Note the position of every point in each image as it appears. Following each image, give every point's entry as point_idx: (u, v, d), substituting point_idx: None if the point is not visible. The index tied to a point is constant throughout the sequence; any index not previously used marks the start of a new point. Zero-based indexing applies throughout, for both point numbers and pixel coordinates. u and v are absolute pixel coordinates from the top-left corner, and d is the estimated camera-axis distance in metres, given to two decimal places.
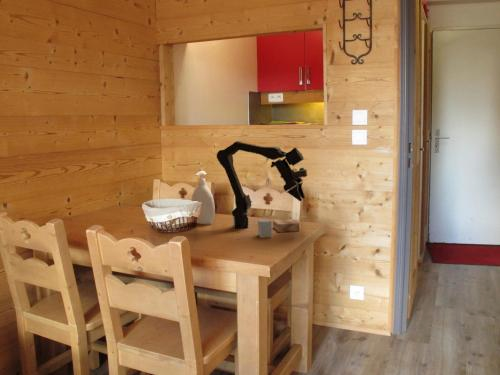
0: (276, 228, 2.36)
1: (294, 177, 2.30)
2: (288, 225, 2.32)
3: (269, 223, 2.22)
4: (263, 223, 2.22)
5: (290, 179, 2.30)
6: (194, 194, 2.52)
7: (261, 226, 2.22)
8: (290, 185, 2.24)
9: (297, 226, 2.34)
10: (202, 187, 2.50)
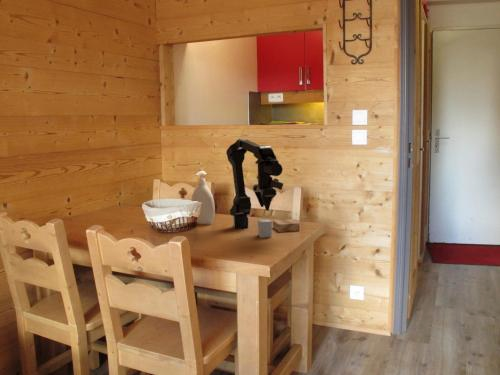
0: (276, 228, 2.36)
1: (271, 185, 2.20)
2: (288, 225, 2.32)
3: (269, 223, 2.22)
4: (263, 223, 2.22)
5: (267, 185, 2.20)
6: (194, 194, 2.52)
7: (261, 226, 2.22)
8: (271, 192, 2.14)
9: (297, 226, 2.34)
10: (202, 187, 2.50)
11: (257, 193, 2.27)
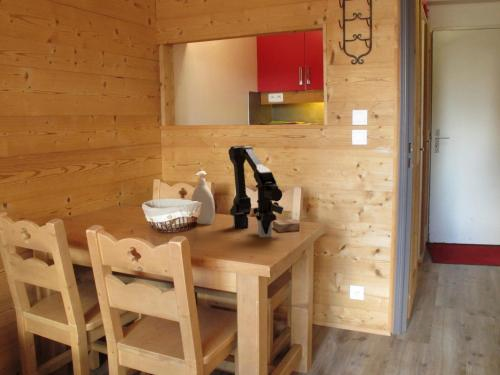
0: (276, 228, 2.35)
1: (271, 210, 2.21)
2: (288, 225, 2.33)
3: None
4: None
5: (267, 209, 2.21)
6: (194, 194, 2.52)
7: (261, 226, 2.22)
8: (271, 217, 2.15)
9: (297, 226, 2.34)
10: (202, 187, 2.50)
11: (258, 217, 2.27)
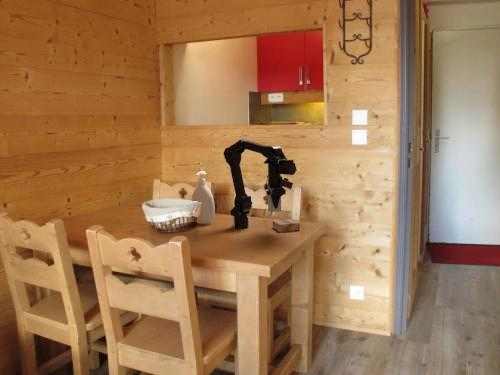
0: (276, 228, 2.35)
1: (281, 185, 2.25)
2: (289, 225, 2.33)
3: None
4: None
5: (277, 184, 2.25)
6: (194, 194, 2.52)
7: (271, 201, 2.26)
8: (280, 191, 2.19)
9: (297, 226, 2.34)
10: (202, 187, 2.50)
11: (268, 193, 2.31)
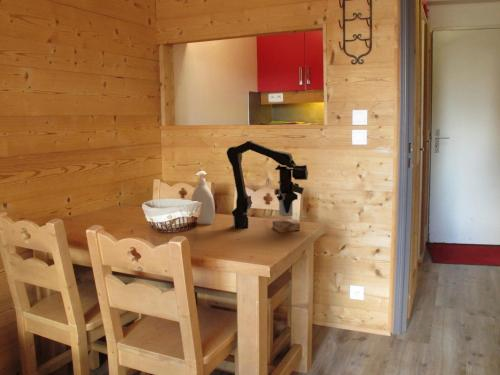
0: (276, 228, 2.35)
1: (292, 190, 2.33)
2: (289, 225, 2.33)
3: None
4: None
5: (288, 190, 2.33)
6: (194, 194, 2.52)
7: (283, 205, 2.33)
8: (292, 197, 2.27)
9: (298, 226, 2.34)
10: (202, 187, 2.50)
11: (279, 198, 2.38)
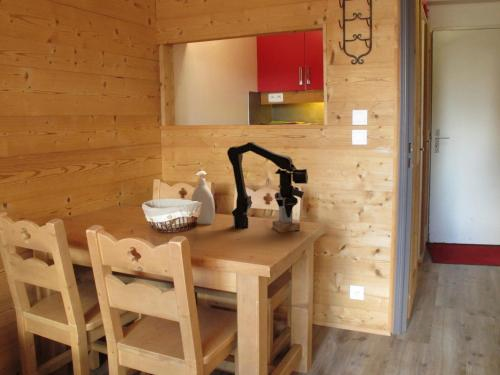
0: (277, 228, 2.35)
1: (293, 194, 2.33)
2: (289, 225, 2.33)
3: None
4: (284, 209, 2.34)
5: (288, 193, 2.33)
6: (194, 194, 2.52)
7: (282, 212, 2.34)
8: (292, 201, 2.27)
9: (298, 226, 2.34)
10: (202, 187, 2.50)
11: (278, 201, 2.40)
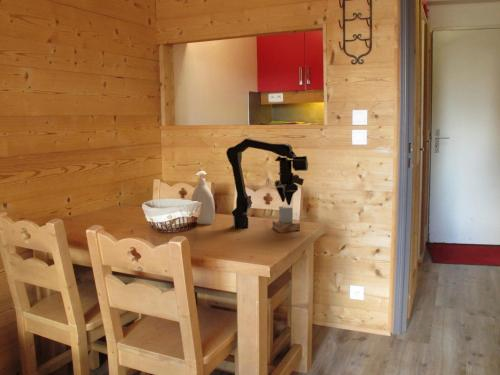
0: (277, 228, 2.35)
1: (293, 181, 2.32)
2: (289, 225, 2.33)
3: (290, 209, 2.34)
4: (285, 209, 2.34)
5: (288, 181, 2.32)
6: (194, 194, 2.52)
7: (283, 212, 2.34)
8: (293, 188, 2.26)
9: (298, 226, 2.34)
10: (202, 187, 2.50)
11: (278, 188, 2.40)
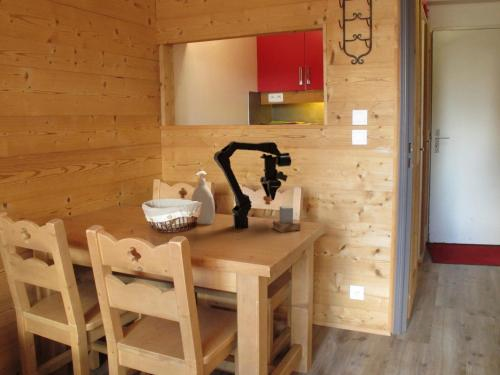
0: (277, 228, 2.35)
1: (277, 177, 2.44)
2: (290, 225, 2.33)
3: (291, 209, 2.34)
4: (285, 209, 2.34)
5: (273, 177, 2.44)
6: (194, 194, 2.52)
7: (283, 212, 2.34)
8: (276, 183, 2.38)
9: (298, 226, 2.34)
10: (202, 187, 2.50)
11: (264, 184, 2.51)
